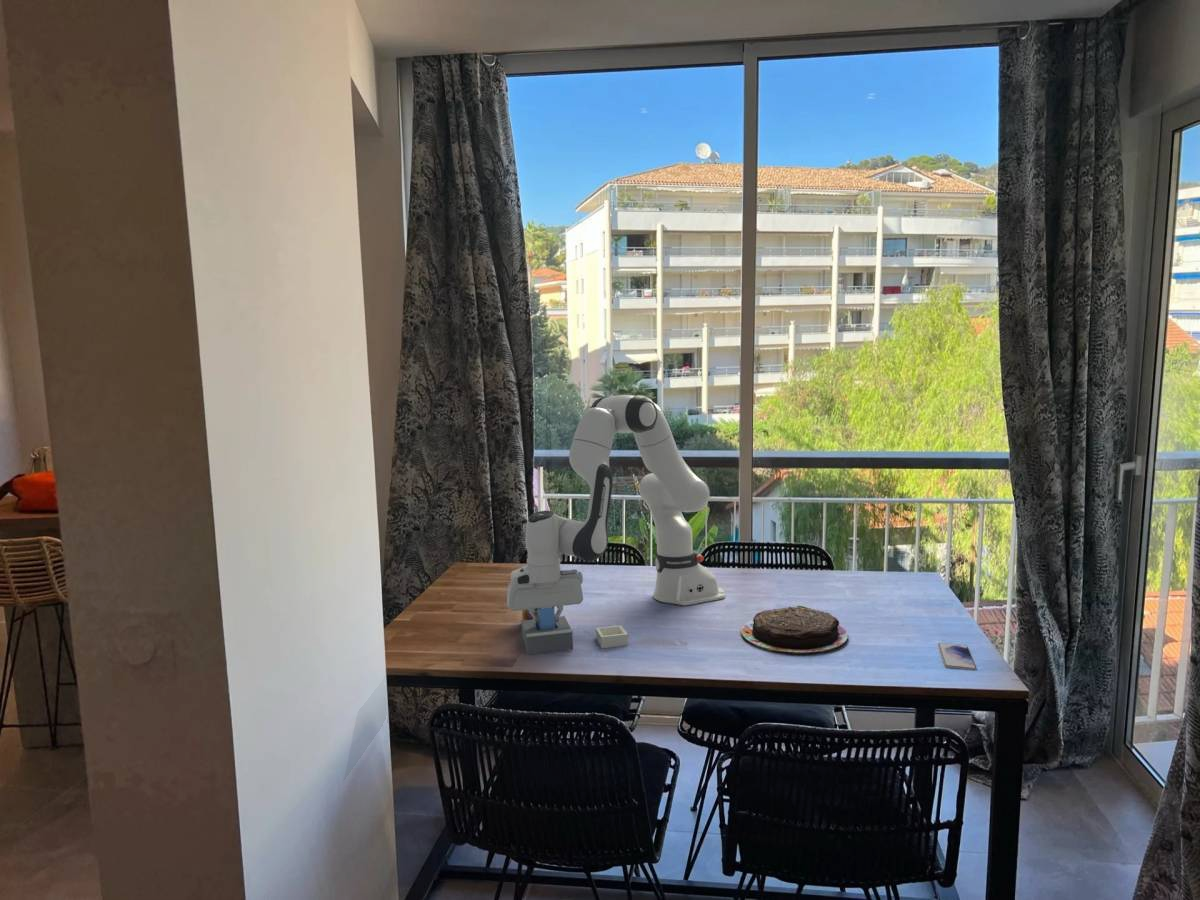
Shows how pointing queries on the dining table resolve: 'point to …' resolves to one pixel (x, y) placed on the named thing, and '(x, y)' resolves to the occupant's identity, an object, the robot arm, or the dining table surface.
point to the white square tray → (611, 636)
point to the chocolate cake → (795, 631)
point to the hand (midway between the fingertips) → (546, 622)
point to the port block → (547, 637)
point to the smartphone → (956, 656)
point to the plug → (546, 618)
